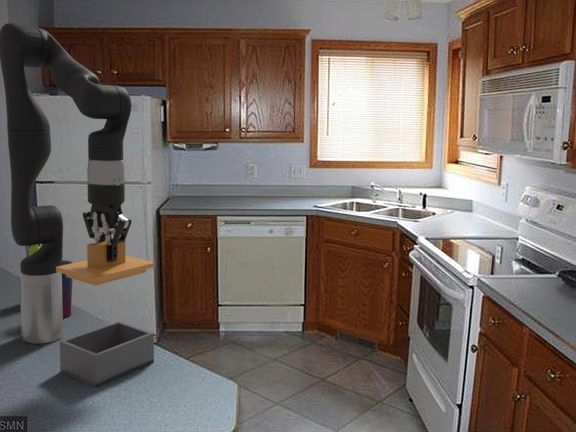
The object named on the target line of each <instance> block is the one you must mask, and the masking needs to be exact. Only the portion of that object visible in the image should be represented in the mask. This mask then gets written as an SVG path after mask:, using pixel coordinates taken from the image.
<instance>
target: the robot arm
mask: <svg viewBox="0 0 576 432" xmlns="http://www.w3.org/2000/svg"><path fill="white" fill-rule="evenodd" d="M0 67H1V73H2V79H3V80H2V81H3V85H4V94H5V95H4V96H5V106H6V108H5V109H6V130H7V131H6V132H7V143H8V144H7V145H8V154H9V155H8V156H9V164H10V165H9V167H10V179H11V181H10V185H11V187H10V188H11V189H10V191H11V192H10V193H11V194H10V199H11V200H10V228H11V234H12V237H13V240H14V242H15V244H16V245H18V246H20V247H26V246H27V247H28V246H32V245H37V244H38V245H41V246H39V247H40V249H39V250H37V251H36V252H35V253H33V254H32V255H30V256H29V255H28V256H26V257H24V258H23V259H22V260H20V261H21V262H20V264H19V266H20V267H19V268H20V284H21V285H20V287H21V299H20V324H21V337H22V340H23V341H24V342H25V343H27V344H28V343H29V344H34V345H35V344H37V345H38V344H48V343H52V342H56V341H57V340H60V339H61V338H63V336H64V325H63V324H64V321H63V320H64V318H63V308H62V273H60V272H56V267H58V266H61V263H62V260H63V247H64V246H63V245H64V243H63V242H64V219H63V216H62V212H61V210H60V209H59V207H57V206H56V205H38V206H31V199H32V198H31V196H32V191H33V188H34V185H35V182H36V180H37V179H38V177H39V175H40V174H41V172H42V170H43V169H44V168H45V166H46V164H47V162H48V160H49V157H50V155H51V152H52V141H51V140H52V139H51V125H50V122H49V119H48V117H47V115H46V114H45V112H44V111H43V109H42V107H41V105H39V103H38V101H37V100H36V99H35V97H34V95H33V94H32V92H31V90H30V88H29V85H28V82H27V77H26V73H25V72H26V71H25V67H27V68H34V69H35V68H36V69H38V68H43V69H46V70H48V71H51V73H50V74H51V78H52V80H53V82H54V84H55V85H56V86H57V88H59V90H60V91H62V92H64V93H65V94H66V95H67V96H69V98H71V99H72V100H73V102H74V104H75V105H76V108H77V109H78V110H79V112H80V114H82V116H85V117H87V118H89V119H93V120H106V121H105V122H104V123H105V124H104V126H103V127H102V128H101V129H99V130H94V131H92V132H90V133H89V135H88V139H87V148H88V149H87V151H88V155H87V156H88V157H87V158H88V162H87V169H86V170H87V174H86V177H87V178H86V179H87V180H86V181H87V202H88V203H89V204H90V205H91V207H90V210H89V211H85V212H82V219H83V221H84V225H85V228H86V231H87V234H88V236H89V237H88V238H90V239H93V241H94V243H97V242H102V241H107V262H114V261H116V260H117V257H118V253H117V252H118V251H117V246H118V244H119V243H122V242H125V243H126V239H127V236H128V233H129V230H130V229H131V225H132V219H131V218H130V217H129V218H126V217H125V216H124V215H123V214H124V213H123V210H122V205H123V204H124V203H125V199H126V197H125V192H126V189H125V184H126V183H125V177H126V176H125V165H124V139H125V135H126V132H127V129H128V128H127V127H128V123H129V120H130V116H131V112H132V100H131V96H130V94H129V92H128V90H127V89H126V88H124V87H123V86H120V85H112V84H101V80H100V79H99V77H98V76H97V75H96V74H95V73H93V72H92V71H91V70H90V69H88V68H87V67H86V66H83V65H82V64H80V63H79V62H78V61H76V59H74V58H73V57H72V56H71V55H70V54H69V53H68V52H67V51H66V50H65V49H64V48H63V46H62V45H61V44H60V43H59V42H58V41H57V40H56V39H55V37H53V35H52V34H50V33H49V32H48V31H47V30H45V29H43V28H41V27H36V26H30V25H24V24H20V23H19V24H18V23H10V22H9V23H5V24H3V25H2V26H1V28H0ZM112 235H113V236H112Z"/></svg>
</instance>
